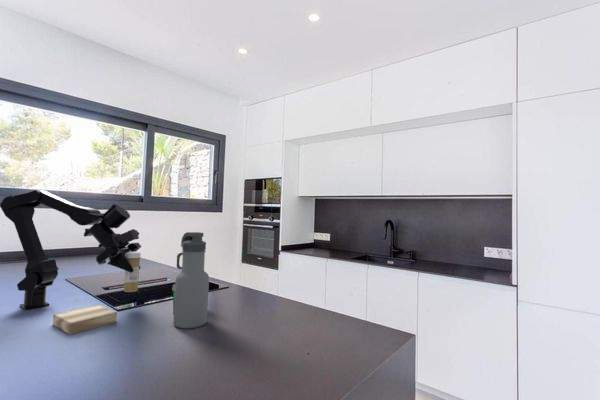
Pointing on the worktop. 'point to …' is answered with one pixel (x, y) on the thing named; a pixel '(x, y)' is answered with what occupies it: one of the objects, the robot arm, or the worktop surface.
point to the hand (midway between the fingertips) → (136, 270)
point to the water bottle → (191, 283)
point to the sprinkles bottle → (133, 277)
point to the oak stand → (84, 319)
